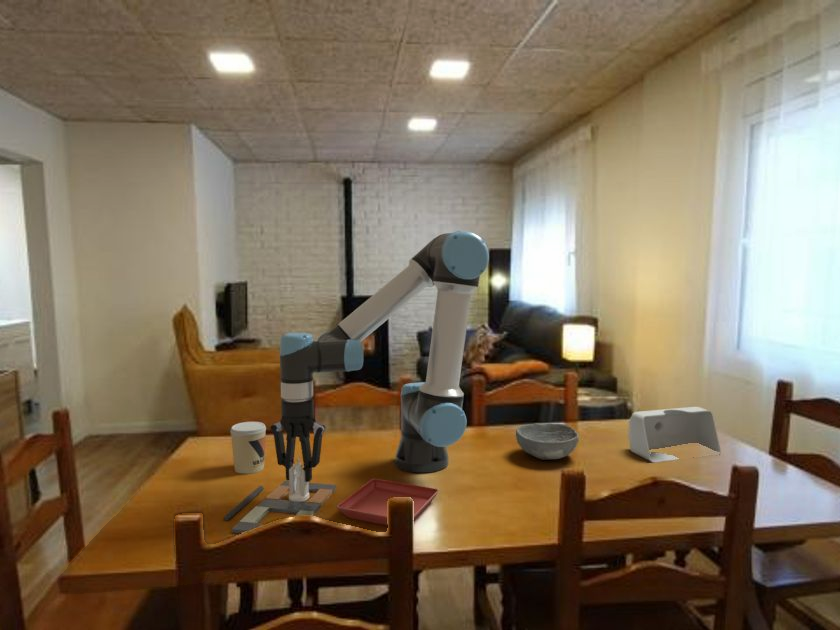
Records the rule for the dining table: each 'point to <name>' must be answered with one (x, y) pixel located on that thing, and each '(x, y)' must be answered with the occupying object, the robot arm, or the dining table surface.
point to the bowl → (547, 440)
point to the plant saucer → (383, 499)
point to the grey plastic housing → (671, 431)
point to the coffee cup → (248, 446)
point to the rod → (243, 503)
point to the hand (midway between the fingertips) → (299, 493)
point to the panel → (285, 505)
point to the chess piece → (298, 484)
